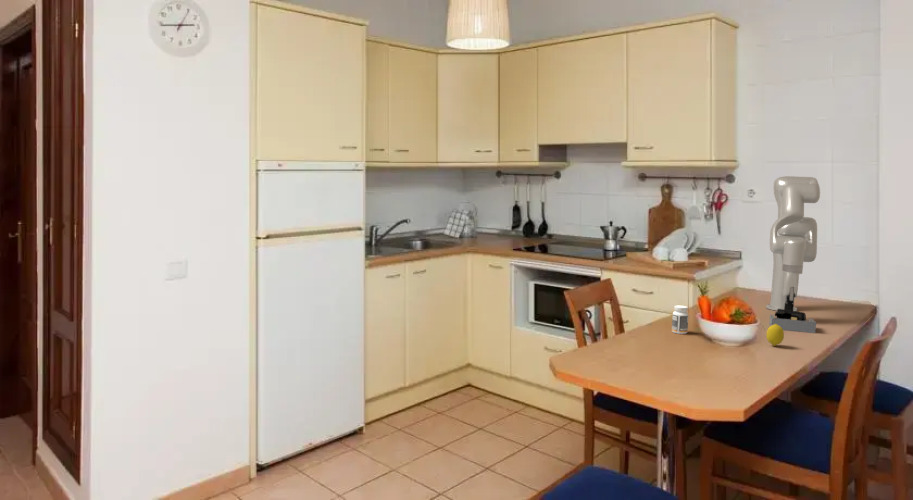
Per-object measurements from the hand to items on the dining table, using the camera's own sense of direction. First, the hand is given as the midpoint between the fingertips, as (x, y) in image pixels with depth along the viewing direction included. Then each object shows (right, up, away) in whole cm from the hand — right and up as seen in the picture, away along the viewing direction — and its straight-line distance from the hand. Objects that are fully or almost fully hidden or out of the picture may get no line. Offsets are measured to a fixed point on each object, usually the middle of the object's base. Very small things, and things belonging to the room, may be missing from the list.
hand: (788, 312), depth 282 cm
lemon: (-26, -8, -43) cm, 50 cm away
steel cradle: (-5, -5, -13) cm, 15 cm away
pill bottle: (-54, -5, -26) cm, 60 cm away
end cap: (-5, -5, -12) cm, 14 cm away
